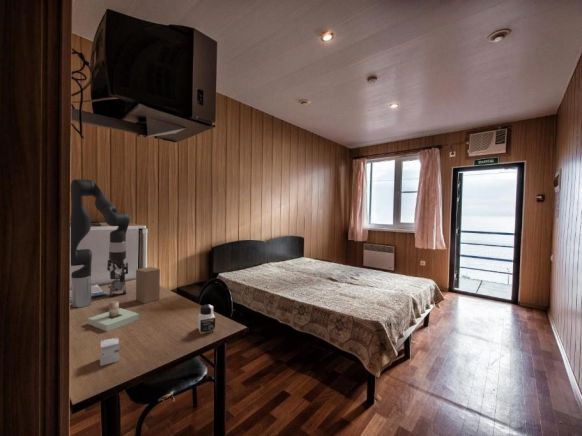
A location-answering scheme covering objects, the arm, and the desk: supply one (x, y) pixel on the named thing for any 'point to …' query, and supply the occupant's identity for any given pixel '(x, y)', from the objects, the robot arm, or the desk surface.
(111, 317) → the peg
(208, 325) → the medicine bottle
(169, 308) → the desk surface
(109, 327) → the seat board
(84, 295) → the robot arm
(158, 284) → the wooden block
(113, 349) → the skincare box
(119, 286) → the figurine
